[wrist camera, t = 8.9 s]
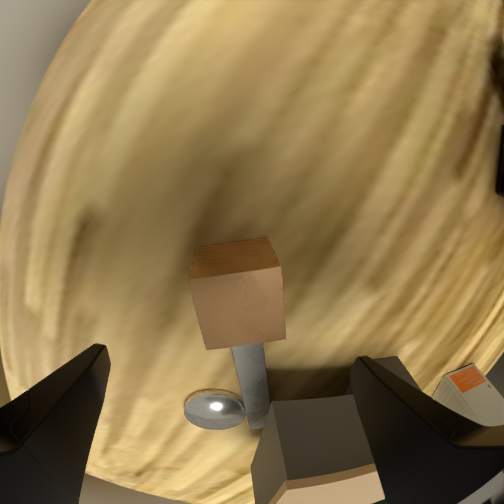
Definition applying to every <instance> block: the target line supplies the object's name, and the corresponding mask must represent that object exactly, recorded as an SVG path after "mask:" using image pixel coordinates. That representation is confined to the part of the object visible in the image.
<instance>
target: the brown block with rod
mask: <svg viewBox="0 0 504 504" xmlns="http://www.w3.org/2000/svg"><path fill="white" fill-rule="evenodd" d="M189 284H190V288H191V292H192V297H193V301H194V305H195V309H196V313H197V317H198V321H199V324H200V328H201V332H202V336H203V339H204V343H205V347H206V350H210V349H219V348H227V347H232V351H233V356H234V361H235V365H236V370H237V375H238V379H239V384H240V388H241V392H242V397H243V401H244V405H245V410H246V414H247V418H248V422H249V426H250V430H251V429H259V428H264V425H265V421H266V418H267V415H268V412H269V408H270V399H269V391H268V382H267V374H266V365H265V357H264V349H263V342H270V341H276V340H282V339H286V331H285V314H284V298H283V284H282V270H281V265H280V263H279V261H278V259H277V257H276V255H275V252H274V250H273V248H272V246H271V244H270V242H269V240H268V238H260V239H252V240H245V241H238V242H231V243H224V244H216V245H209V246H202V247H196V251H195V255H194V259H193V263H192V267H191V271H190V275H189Z"/></svg>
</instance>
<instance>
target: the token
mask: <svg viewBox="0 0 504 504" xmlns="http://www.w3.org/2000/svg"><path fill="white" fill-rule="evenodd" d="M184 413H185V416H186V418H187V419H188V421H190V422H191V423H192V424H194V425H196V426H198V427H201V428H205V429H211V430H221V429H228V428H231V427H234V426H236V425H238V424H239V423H241V422H242V421H243V419H244V417H245V407H244V402H243V400H242V399H241V398H240V397H239V396H237V395H236V394H234V393H232V392H229V391H226V390H220V389H206V390H201V391H197V392H195V393H193V394H191V395H190V396H189V397H188V398H187V399H186V402H185V411H184Z"/></svg>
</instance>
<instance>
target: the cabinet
mask: <svg viewBox="0 0 504 504" xmlns="http://www.w3.org/2000/svg"><path fill="white" fill-rule="evenodd" d="M374 361H376V362H377V363H379V364H380V365H382V366H383V367H385V368H386V369H388V370H389V371H391V372H393V373H394V374H396V375H397V376H399V377H400V378H402V379H403V380H405V381H406V382H408V383H409V384H411V385H413V386H414V387H416V388H417V389H419V390H420V391H421V389H420V388H419V386H418V385H417V383H416V382H415V381H414V379H413V378H412V376H411V375H410V373H409V372H408V371H407V369H406V368H405V366H404V365H403V364H402V362H401V361H400V359H399V358H398V357H390V358H382V359H374ZM251 474H252V482H253V490H254V497H255V504H372V503H375V502H378V501H380V500H383V499H385V497H384V496H385V495H384V493H383V489H382V486H381V483H380V479H379V476H378V473H377V469H376V466H375V463H374V460H373V457H372V454H371V450H370V447H369V444H368V441H367V438H366V435H365V432H364V429H363V426H362V423H361V420H360V417H359V415H358V411H357V408H356V404H355V399H354V395H353V391H352V386H351V382H350V384H349V386H348V388H347V390H346V392H345V394H344V395H343V396H336V397H327V398H316V399H303V400H286V401H272V402H271V405H270V408H269V412H268V415H267V418H266V421H265V425H264V428H263V431H262V434H261V437H260V440H259V443H258V447H257V450H256V453H255V456H254V459H253V461H252V464H251Z"/></svg>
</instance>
